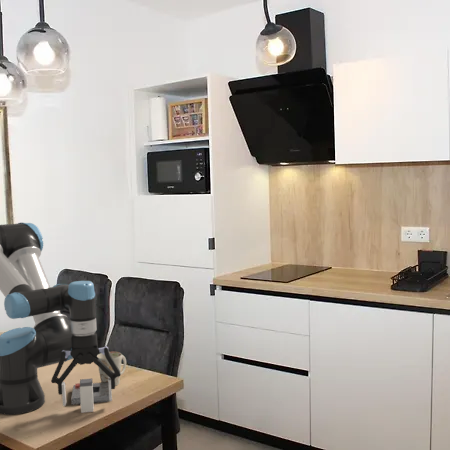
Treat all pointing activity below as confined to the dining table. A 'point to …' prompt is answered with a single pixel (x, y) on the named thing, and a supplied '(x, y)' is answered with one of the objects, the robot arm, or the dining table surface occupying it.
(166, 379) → the dining table surface
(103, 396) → the socket plate
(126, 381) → the dining table surface
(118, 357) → the mug
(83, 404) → the plug
